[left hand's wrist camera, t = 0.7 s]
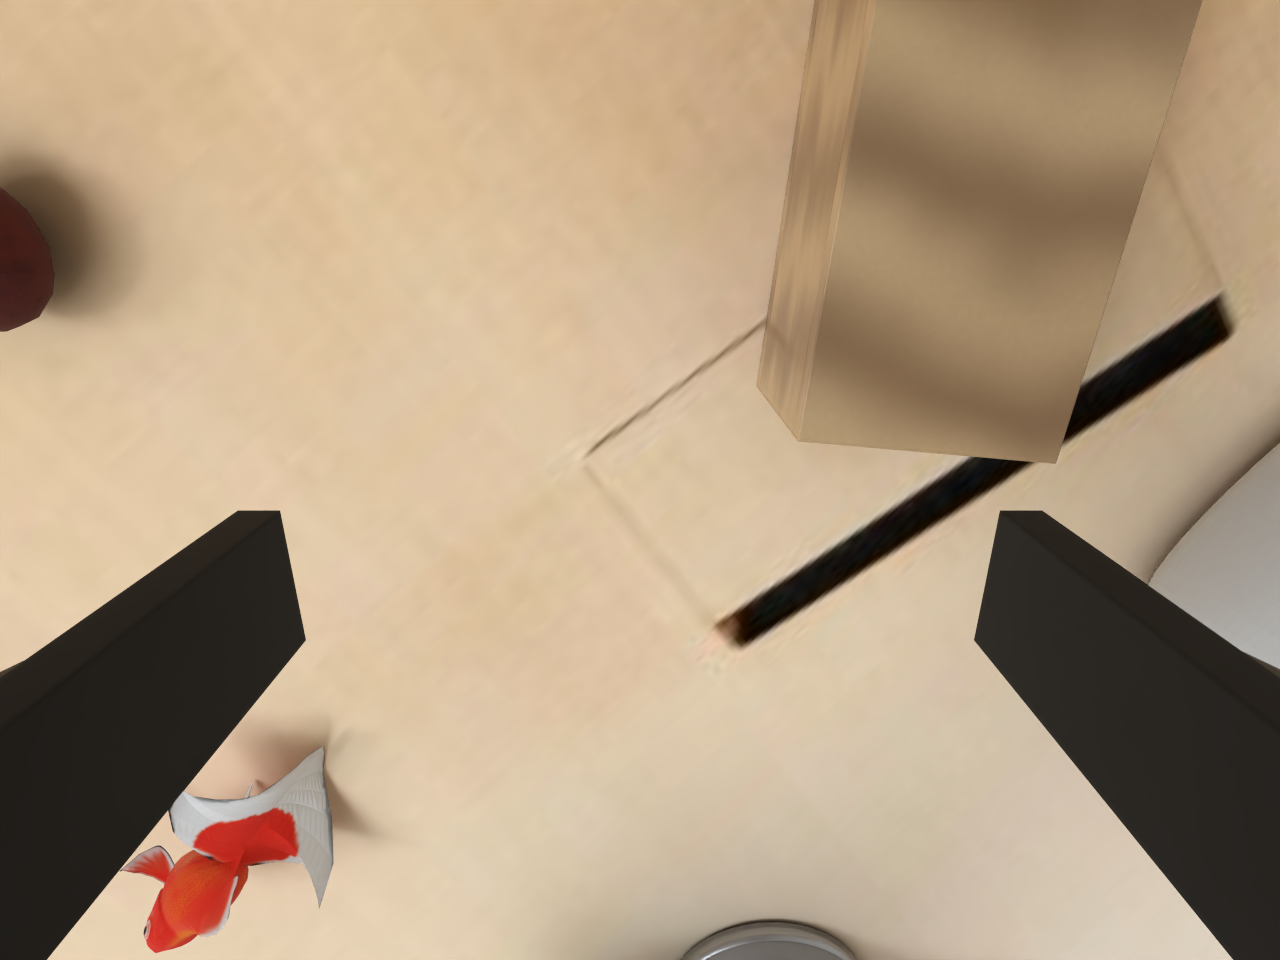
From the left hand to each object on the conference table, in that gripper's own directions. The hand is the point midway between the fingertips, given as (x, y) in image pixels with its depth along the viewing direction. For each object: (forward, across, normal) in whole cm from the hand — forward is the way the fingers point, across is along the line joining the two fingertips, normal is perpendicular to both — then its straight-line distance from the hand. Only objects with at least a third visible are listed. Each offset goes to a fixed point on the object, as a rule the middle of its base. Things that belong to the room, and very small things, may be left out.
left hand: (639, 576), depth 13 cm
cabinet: (+25, -12, -8) cm, 29 cm away
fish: (+25, +26, +30) cm, 47 cm away
